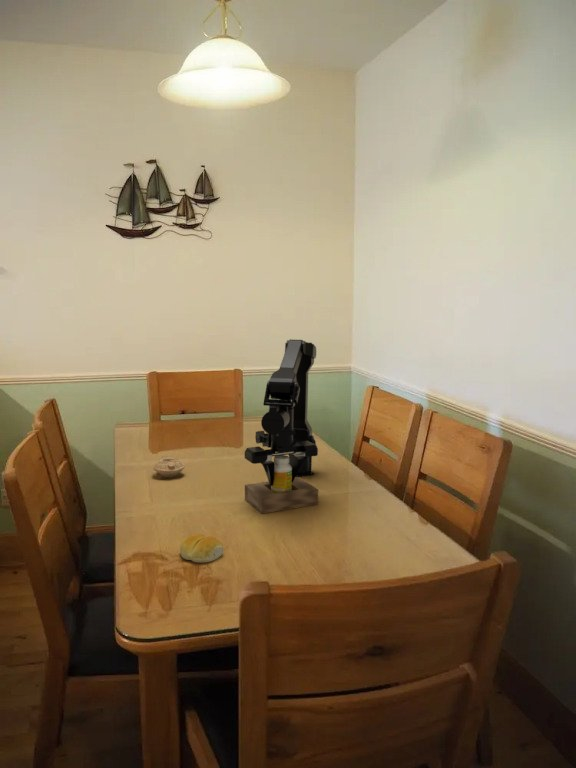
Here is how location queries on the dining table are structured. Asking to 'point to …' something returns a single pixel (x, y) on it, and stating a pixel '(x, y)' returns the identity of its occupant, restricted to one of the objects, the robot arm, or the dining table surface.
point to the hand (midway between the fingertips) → (281, 483)
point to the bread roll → (201, 548)
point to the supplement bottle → (282, 474)
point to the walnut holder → (280, 496)
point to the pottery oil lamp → (169, 466)
